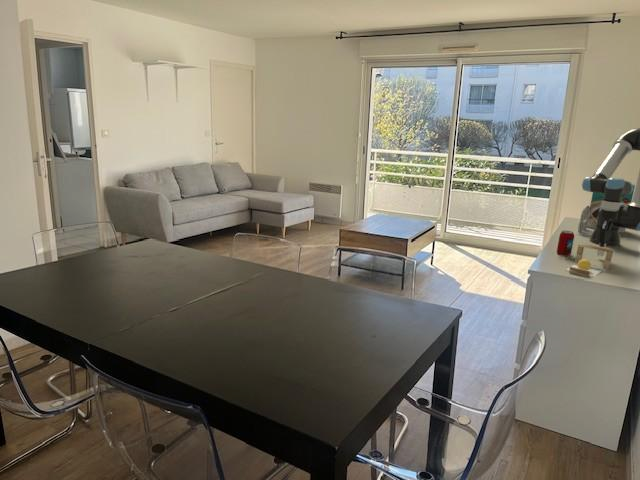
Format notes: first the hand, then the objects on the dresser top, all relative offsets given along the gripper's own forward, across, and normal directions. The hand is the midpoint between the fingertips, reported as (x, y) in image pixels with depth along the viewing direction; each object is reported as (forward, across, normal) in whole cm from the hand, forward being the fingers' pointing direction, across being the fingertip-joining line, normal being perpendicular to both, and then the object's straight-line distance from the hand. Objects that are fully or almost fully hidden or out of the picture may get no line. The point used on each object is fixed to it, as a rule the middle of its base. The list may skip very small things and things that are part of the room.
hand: (600, 255), depth 245 cm
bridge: (+2, +14, 0) cm, 15 cm away
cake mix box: (+2, -83, -16) cm, 85 cm away
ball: (-1, +29, 0) cm, 29 cm away
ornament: (+2, -61, -18) cm, 64 cm away
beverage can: (+2, +6, -16) cm, 17 cm away
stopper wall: (+2, +36, 0) cm, 37 cm away
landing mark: (+2, +29, 0) cm, 29 cm away
